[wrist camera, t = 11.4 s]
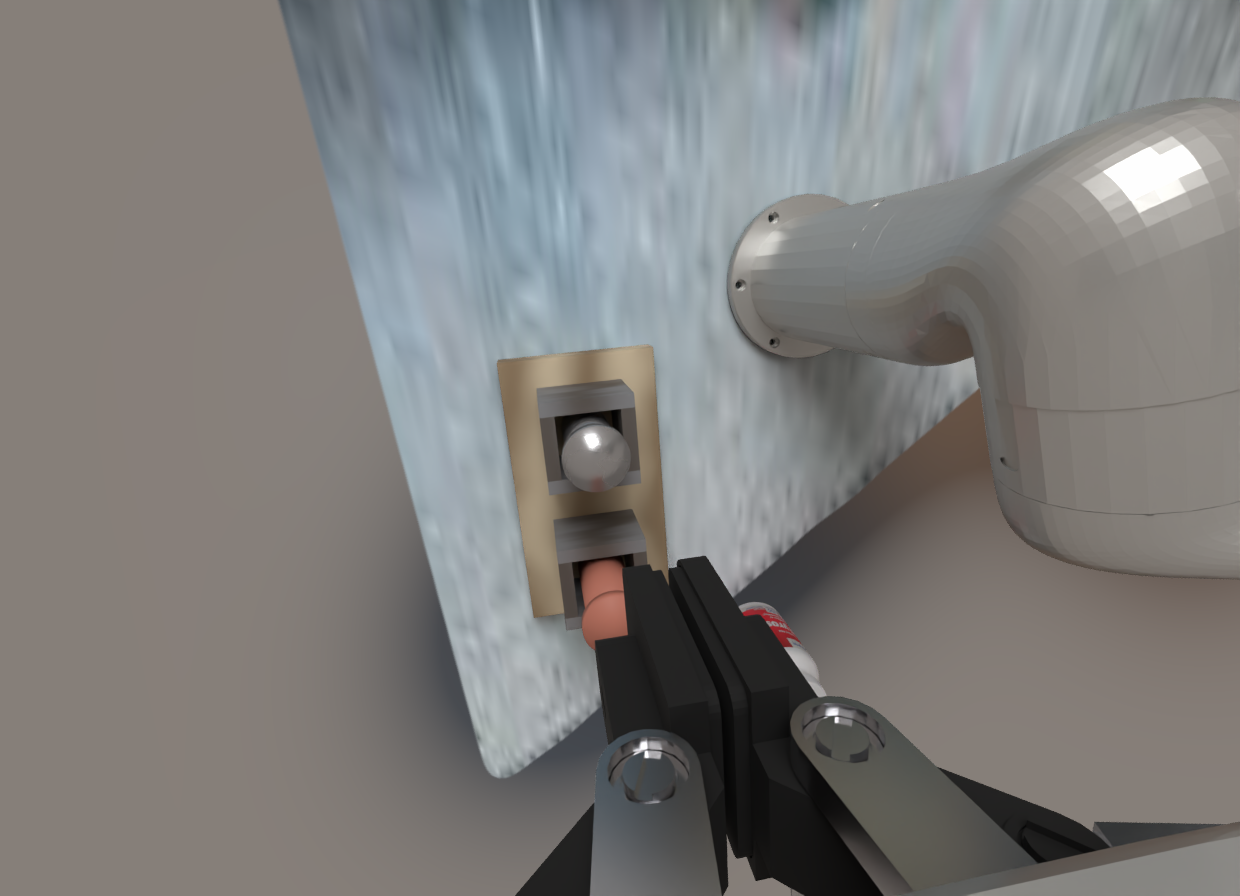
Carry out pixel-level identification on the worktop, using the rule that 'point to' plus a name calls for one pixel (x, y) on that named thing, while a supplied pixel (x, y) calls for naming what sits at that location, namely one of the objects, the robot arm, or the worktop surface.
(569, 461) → the grey plug
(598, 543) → the board
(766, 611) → the pill bottle
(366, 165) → the worktop surface
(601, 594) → the red plug
